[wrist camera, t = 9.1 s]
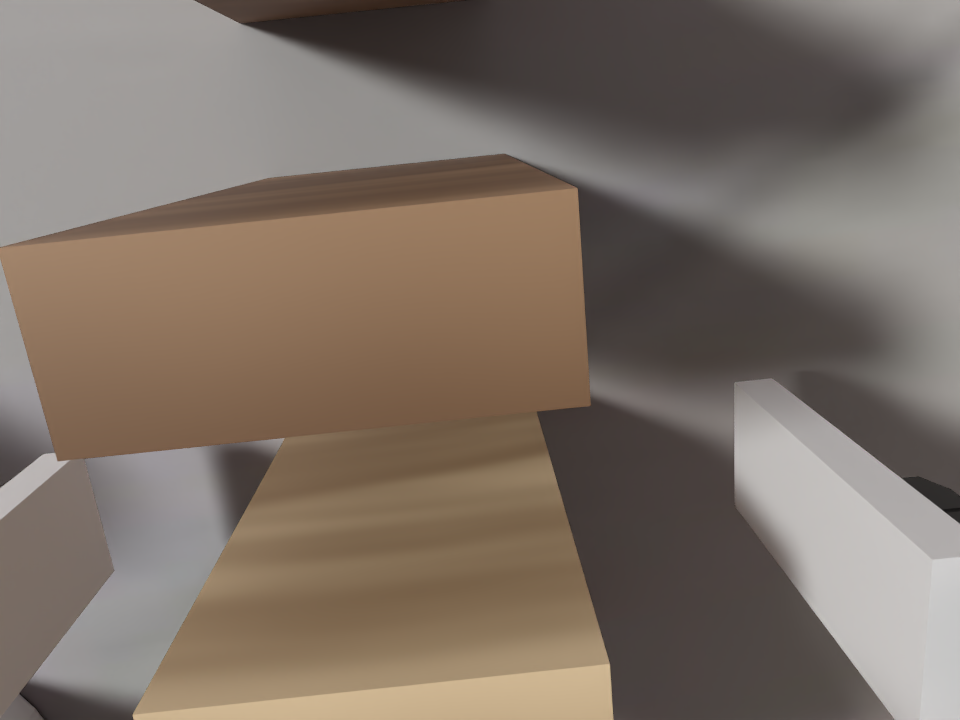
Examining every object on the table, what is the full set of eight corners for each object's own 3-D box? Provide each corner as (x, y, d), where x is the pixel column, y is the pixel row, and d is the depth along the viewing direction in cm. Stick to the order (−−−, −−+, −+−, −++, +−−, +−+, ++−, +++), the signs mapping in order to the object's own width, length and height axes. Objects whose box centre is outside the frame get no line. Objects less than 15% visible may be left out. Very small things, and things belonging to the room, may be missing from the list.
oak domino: (308, 396, 18) (132, 714, 8) (524, 373, 18) (610, 663, 8) (322, 475, 18) (173, 861, 9) (532, 452, 18) (619, 814, 9)
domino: (268, 177, 16) (-2, 247, 7) (504, 153, 16) (576, 188, 7) (284, 271, 17) (57, 461, 7) (512, 247, 17) (590, 406, 7)
